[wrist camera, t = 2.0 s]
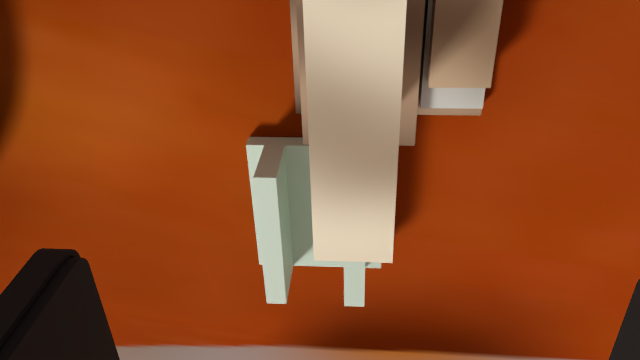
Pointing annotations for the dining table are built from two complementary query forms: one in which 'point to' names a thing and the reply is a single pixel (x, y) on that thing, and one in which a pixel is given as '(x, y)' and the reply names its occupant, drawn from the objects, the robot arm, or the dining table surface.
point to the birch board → (354, 124)
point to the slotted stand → (289, 218)
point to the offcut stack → (458, 52)
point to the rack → (410, 72)
